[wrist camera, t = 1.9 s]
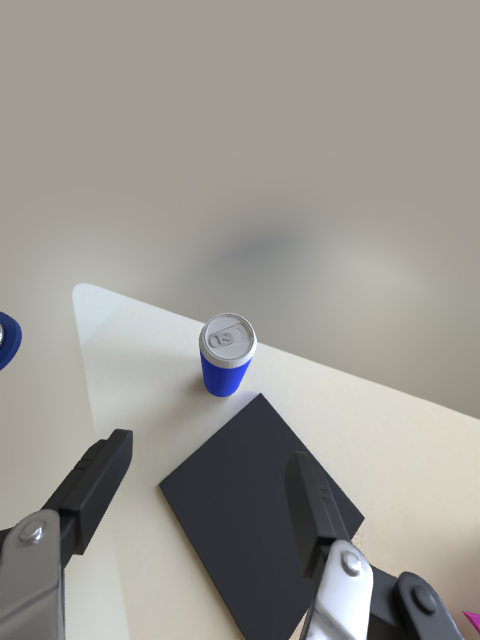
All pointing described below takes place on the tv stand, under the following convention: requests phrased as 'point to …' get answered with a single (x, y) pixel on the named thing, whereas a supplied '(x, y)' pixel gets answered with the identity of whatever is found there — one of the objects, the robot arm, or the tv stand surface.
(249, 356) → the beverage can
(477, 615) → the book
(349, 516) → the mat
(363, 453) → the tv stand surface
